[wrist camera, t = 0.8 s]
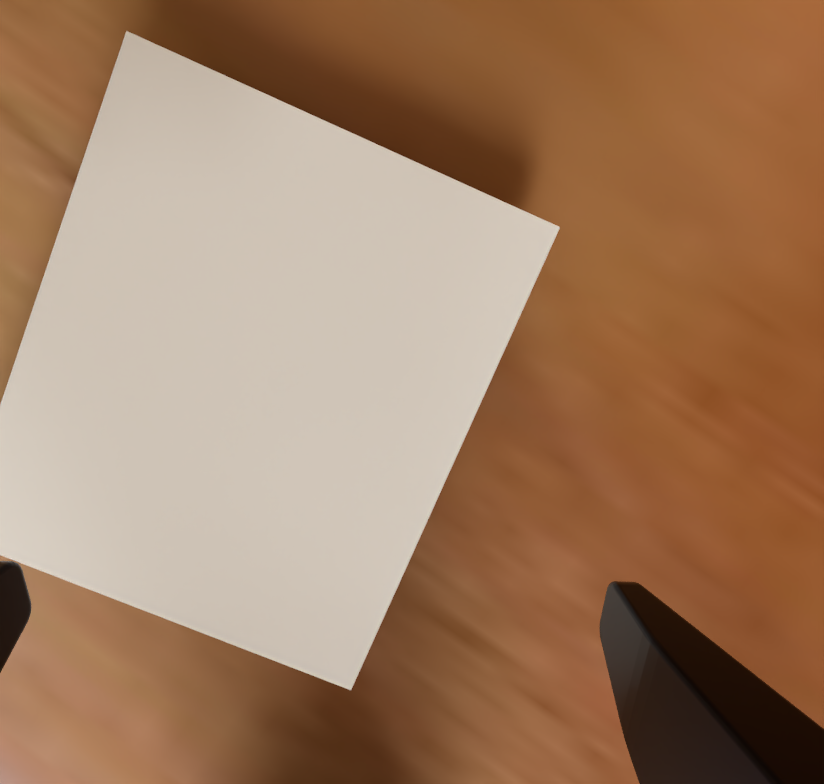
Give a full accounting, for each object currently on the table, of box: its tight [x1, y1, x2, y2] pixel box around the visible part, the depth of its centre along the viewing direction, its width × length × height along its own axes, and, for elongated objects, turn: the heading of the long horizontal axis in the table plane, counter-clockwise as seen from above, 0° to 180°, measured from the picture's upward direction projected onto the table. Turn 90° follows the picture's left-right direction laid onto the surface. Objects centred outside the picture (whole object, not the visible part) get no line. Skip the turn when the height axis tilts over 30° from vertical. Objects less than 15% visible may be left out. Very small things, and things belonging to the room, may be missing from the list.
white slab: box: [0, 31, 560, 690], centre depth 21 cm, size 18×15×4 cm
